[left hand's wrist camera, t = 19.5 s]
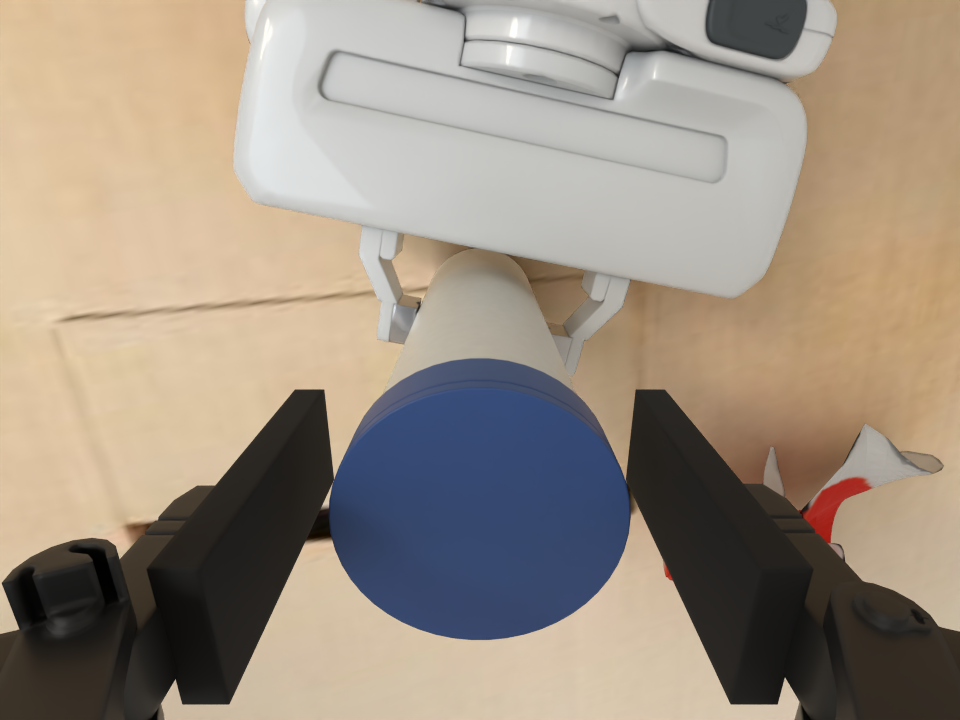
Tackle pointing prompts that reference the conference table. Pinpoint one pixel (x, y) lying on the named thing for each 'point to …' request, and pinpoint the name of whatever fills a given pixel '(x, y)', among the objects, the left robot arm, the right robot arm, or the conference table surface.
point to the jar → (479, 319)
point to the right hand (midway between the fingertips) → (476, 354)
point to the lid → (479, 501)
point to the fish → (853, 478)
